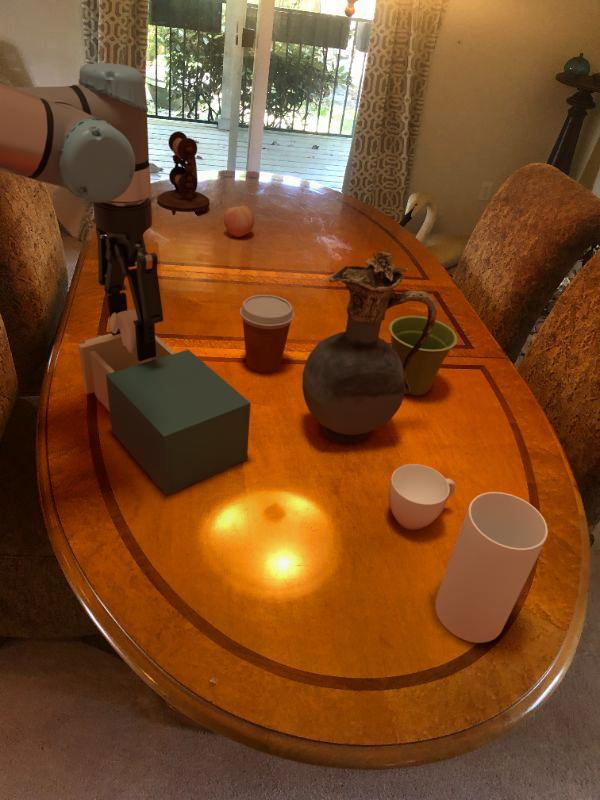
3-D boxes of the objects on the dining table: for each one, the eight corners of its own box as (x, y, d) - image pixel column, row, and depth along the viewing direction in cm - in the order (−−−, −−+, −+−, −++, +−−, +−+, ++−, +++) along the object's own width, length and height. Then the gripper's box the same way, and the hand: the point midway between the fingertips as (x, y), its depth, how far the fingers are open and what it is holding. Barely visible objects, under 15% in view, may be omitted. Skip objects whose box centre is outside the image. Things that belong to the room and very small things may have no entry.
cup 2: (423, 616, 73) (456, 522, 63) (451, 572, 78) (485, 480, 69) (489, 656, 69) (534, 563, 60) (513, 607, 75) (557, 515, 66)
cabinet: (111, 432, 94) (105, 374, 88) (188, 404, 102) (188, 349, 96) (166, 496, 84) (163, 436, 78) (247, 460, 92) (250, 402, 86)
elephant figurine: (145, 329, 99) (143, 296, 96) (165, 353, 94) (163, 318, 91) (103, 338, 96) (99, 304, 92) (122, 363, 91) (118, 328, 87)
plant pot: (368, 389, 110) (378, 335, 104) (391, 361, 119) (402, 309, 113) (430, 412, 106) (446, 357, 100) (450, 381, 115) (465, 328, 109)
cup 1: (372, 505, 87) (380, 470, 83) (431, 490, 91) (441, 455, 87) (401, 546, 81) (411, 510, 77) (462, 527, 85) (475, 492, 81)
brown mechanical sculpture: (217, 214, 175) (219, 140, 164) (168, 219, 169) (165, 142, 157) (197, 197, 185) (197, 127, 174) (150, 201, 179) (146, 128, 167)
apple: (247, 229, 168) (249, 200, 164) (257, 240, 163) (259, 210, 158) (219, 231, 165) (220, 201, 161) (228, 242, 160) (229, 211, 155)
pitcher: (290, 412, 103) (309, 240, 85) (396, 405, 107) (435, 240, 90) (306, 455, 94) (331, 273, 77) (421, 445, 99) (469, 271, 81)
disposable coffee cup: (296, 374, 112) (303, 315, 105) (247, 381, 109) (250, 321, 102) (278, 347, 119) (283, 291, 112) (231, 353, 116) (233, 296, 109)
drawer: (71, 375, 104) (64, 329, 99) (138, 355, 111) (135, 311, 106) (128, 442, 91) (124, 393, 86) (200, 415, 98) (200, 368, 93)
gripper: (62, 177, 86) (80, 321, 99) (133, 227, 73) (143, 384, 87) (112, 171, 90) (124, 311, 103) (187, 218, 77) (189, 369, 91)
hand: (133, 344), depth 95 cm, fingers closed on elephant figurine, 8 cm apart
